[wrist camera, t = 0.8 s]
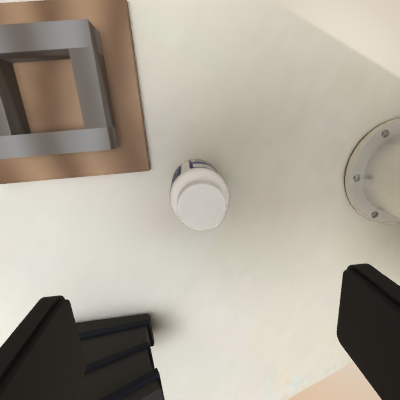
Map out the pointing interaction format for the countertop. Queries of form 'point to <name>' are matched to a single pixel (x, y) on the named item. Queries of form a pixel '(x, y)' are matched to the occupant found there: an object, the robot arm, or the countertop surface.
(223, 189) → the pill bottle
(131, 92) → the mount
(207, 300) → the countertop surface
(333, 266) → the countertop surface
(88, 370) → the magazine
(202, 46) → the countertop surface
